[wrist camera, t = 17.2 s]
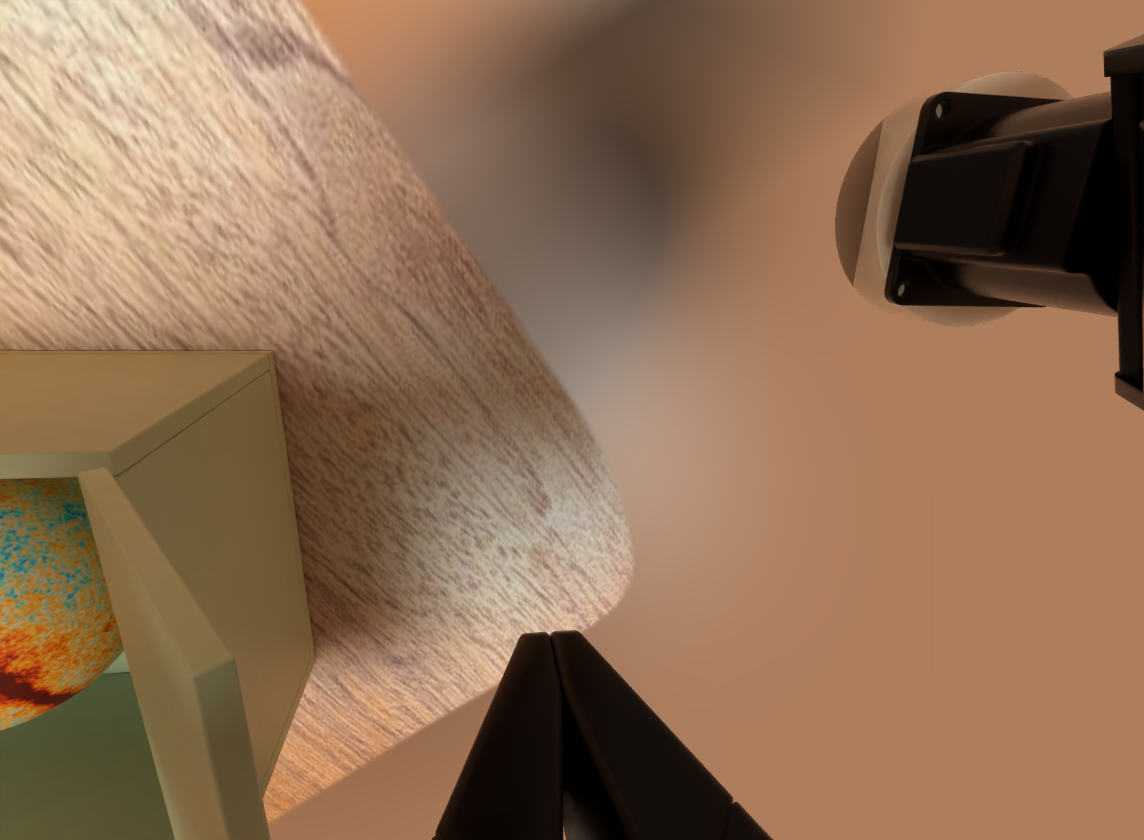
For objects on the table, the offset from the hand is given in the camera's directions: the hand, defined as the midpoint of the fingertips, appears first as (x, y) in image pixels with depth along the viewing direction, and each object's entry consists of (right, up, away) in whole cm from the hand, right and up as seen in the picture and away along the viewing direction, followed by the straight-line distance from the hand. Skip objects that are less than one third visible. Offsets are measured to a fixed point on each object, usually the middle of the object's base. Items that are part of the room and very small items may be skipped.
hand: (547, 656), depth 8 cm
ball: (-16, 0, +10) cm, 19 cm away
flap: (-6, -4, +1) cm, 7 cm away
